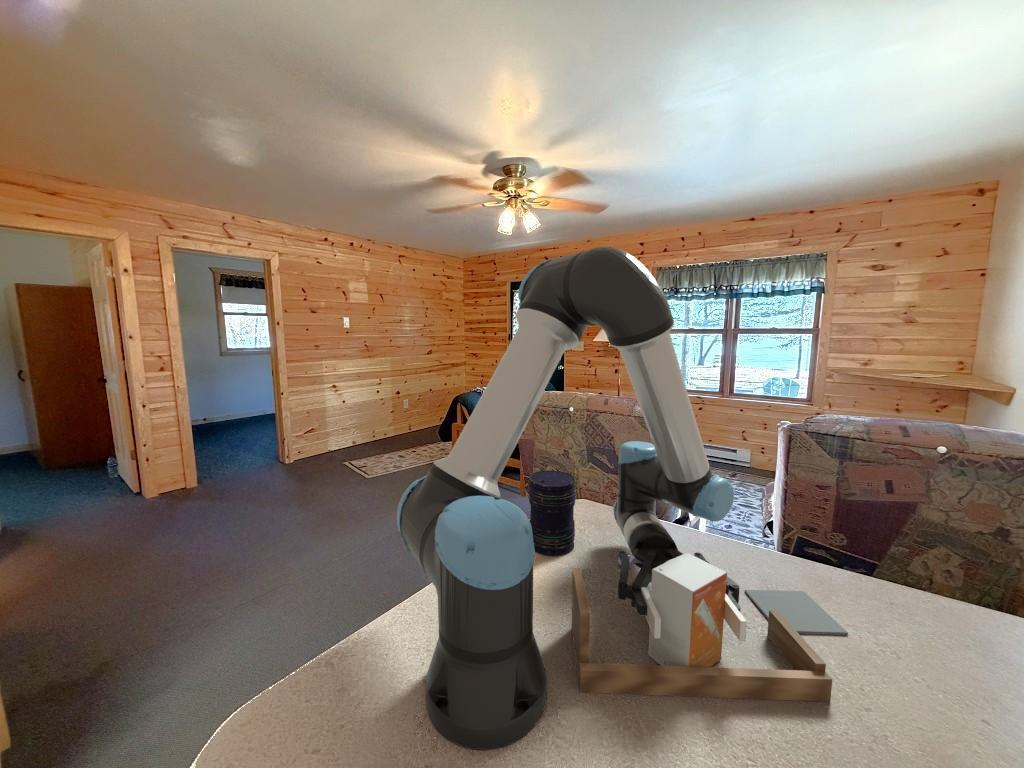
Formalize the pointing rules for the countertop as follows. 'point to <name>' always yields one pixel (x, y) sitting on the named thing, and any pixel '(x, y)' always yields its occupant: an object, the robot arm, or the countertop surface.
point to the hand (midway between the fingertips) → (700, 629)
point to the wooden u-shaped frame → (702, 681)
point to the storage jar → (552, 512)
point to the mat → (796, 611)
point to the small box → (688, 612)
